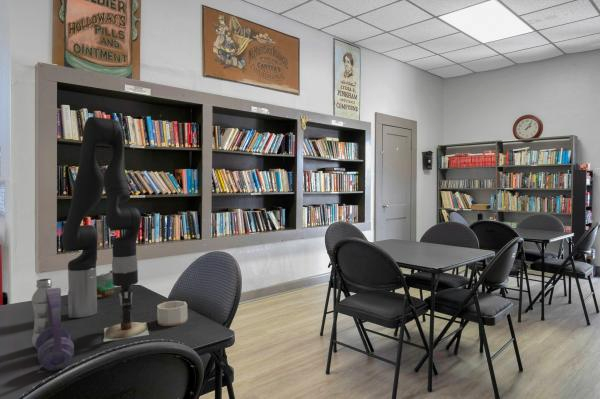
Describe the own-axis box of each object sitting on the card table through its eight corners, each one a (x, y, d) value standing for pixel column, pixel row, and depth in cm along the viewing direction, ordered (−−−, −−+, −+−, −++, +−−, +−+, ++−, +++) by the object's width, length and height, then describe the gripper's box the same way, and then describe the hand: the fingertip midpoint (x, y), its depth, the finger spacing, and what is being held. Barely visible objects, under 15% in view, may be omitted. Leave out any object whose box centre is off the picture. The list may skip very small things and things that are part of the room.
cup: (159, 328, 133) (158, 310, 133) (156, 319, 142) (156, 303, 142) (189, 324, 137) (189, 306, 137) (184, 315, 146) (184, 299, 146)
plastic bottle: (40, 343, 122) (38, 277, 121) (63, 342, 122) (61, 277, 122) (27, 351, 115) (25, 282, 115) (52, 350, 116) (50, 282, 115)
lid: (105, 340, 122) (104, 323, 122) (106, 328, 133) (105, 312, 133) (147, 334, 127) (146, 317, 127) (144, 323, 138) (144, 307, 138)
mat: (103, 343, 121) (103, 341, 121) (104, 329, 133) (104, 328, 133) (149, 335, 127) (149, 334, 127) (146, 323, 139) (146, 322, 138)
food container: (104, 300, 168) (104, 276, 168) (91, 299, 169) (91, 276, 169) (123, 292, 180) (122, 270, 180) (111, 292, 181) (110, 270, 181)
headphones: (35, 355, 113) (32, 285, 112) (68, 348, 118) (66, 280, 117) (39, 380, 98) (36, 299, 97) (77, 370, 103) (75, 293, 102)
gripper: (112, 267, 134) (113, 315, 134) (112, 274, 121) (113, 327, 122) (136, 264, 137) (137, 311, 138) (138, 272, 124) (140, 323, 125)
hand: (126, 319), depth 130 cm, fingers open, 8 cm apart
